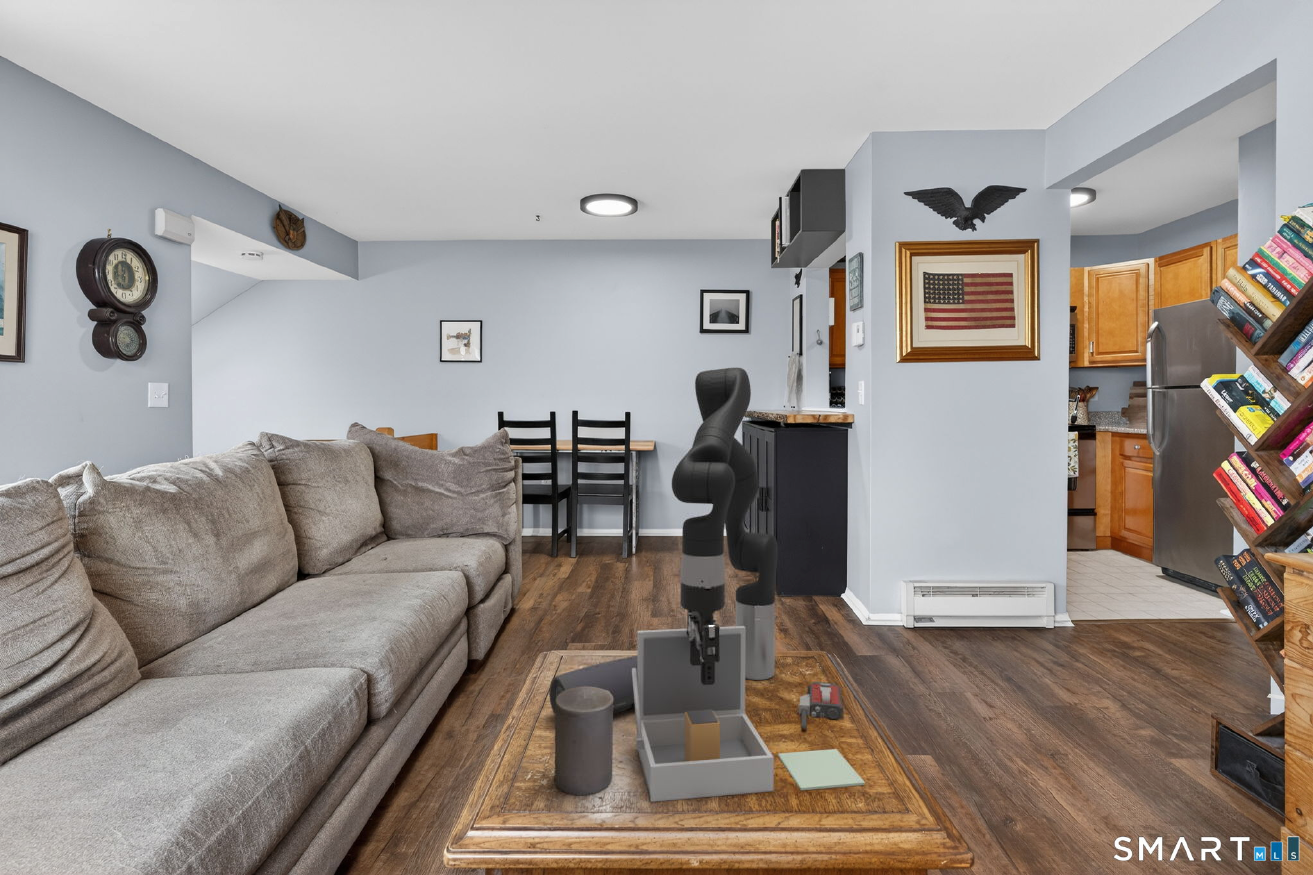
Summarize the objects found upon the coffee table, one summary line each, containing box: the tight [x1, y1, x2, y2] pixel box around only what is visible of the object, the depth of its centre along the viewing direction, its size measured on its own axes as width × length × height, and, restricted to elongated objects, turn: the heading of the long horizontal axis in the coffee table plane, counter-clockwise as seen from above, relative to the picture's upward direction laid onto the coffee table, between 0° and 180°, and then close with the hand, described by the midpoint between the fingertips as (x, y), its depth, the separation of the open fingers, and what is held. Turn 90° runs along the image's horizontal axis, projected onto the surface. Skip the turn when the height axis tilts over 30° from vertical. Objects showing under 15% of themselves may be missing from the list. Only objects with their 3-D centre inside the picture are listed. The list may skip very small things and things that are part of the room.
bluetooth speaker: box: [548, 655, 637, 715], centre depth 133 cm, size 23×9×10 cm, turn 124°
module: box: [685, 709, 720, 762], centre depth 111 cm, size 5×5×8 cm
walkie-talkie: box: [798, 681, 844, 730], centre depth 133 cm, size 9×4×20 cm
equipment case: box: [632, 625, 775, 803], centre depth 111 cm, size 18×21×22 cm
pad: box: [777, 748, 866, 791], centre depth 111 cm, size 11×11×1 cm
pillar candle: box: [554, 686, 614, 796], centre depth 108 cm, size 10×10×15 cm
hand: (701, 674), depth 111 cm, fingers open, 8 cm apart
